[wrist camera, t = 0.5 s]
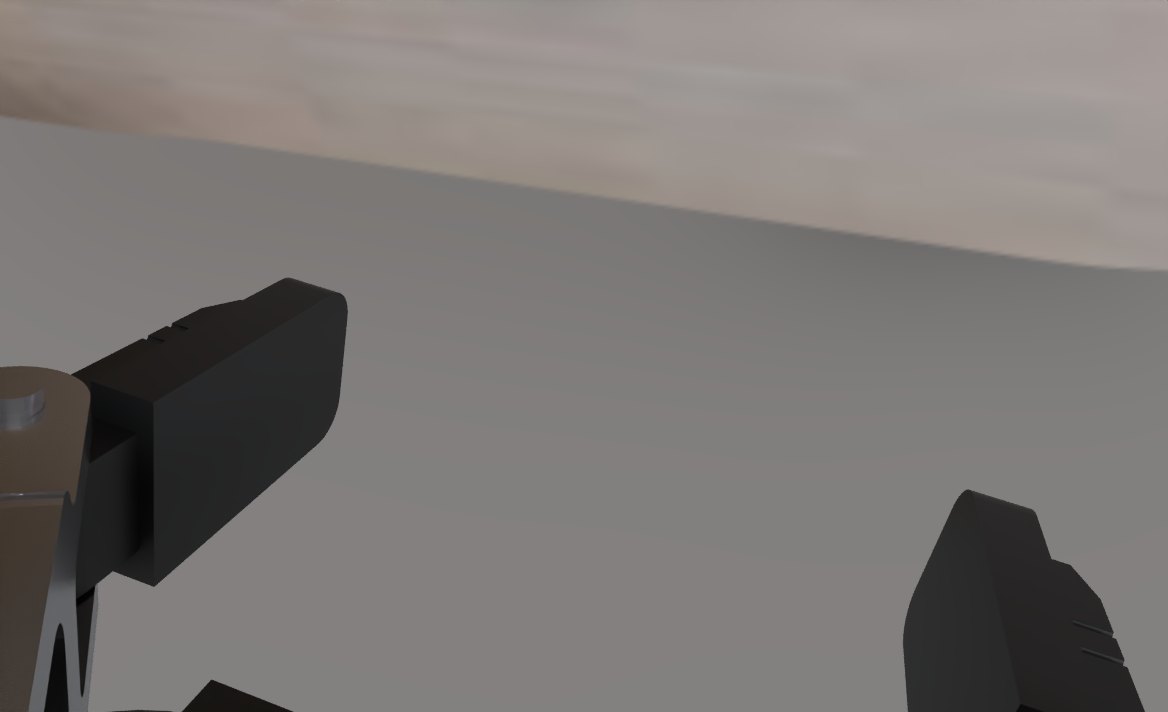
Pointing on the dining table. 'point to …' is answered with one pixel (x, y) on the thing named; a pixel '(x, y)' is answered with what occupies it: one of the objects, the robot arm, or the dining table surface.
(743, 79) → the dining table surface
